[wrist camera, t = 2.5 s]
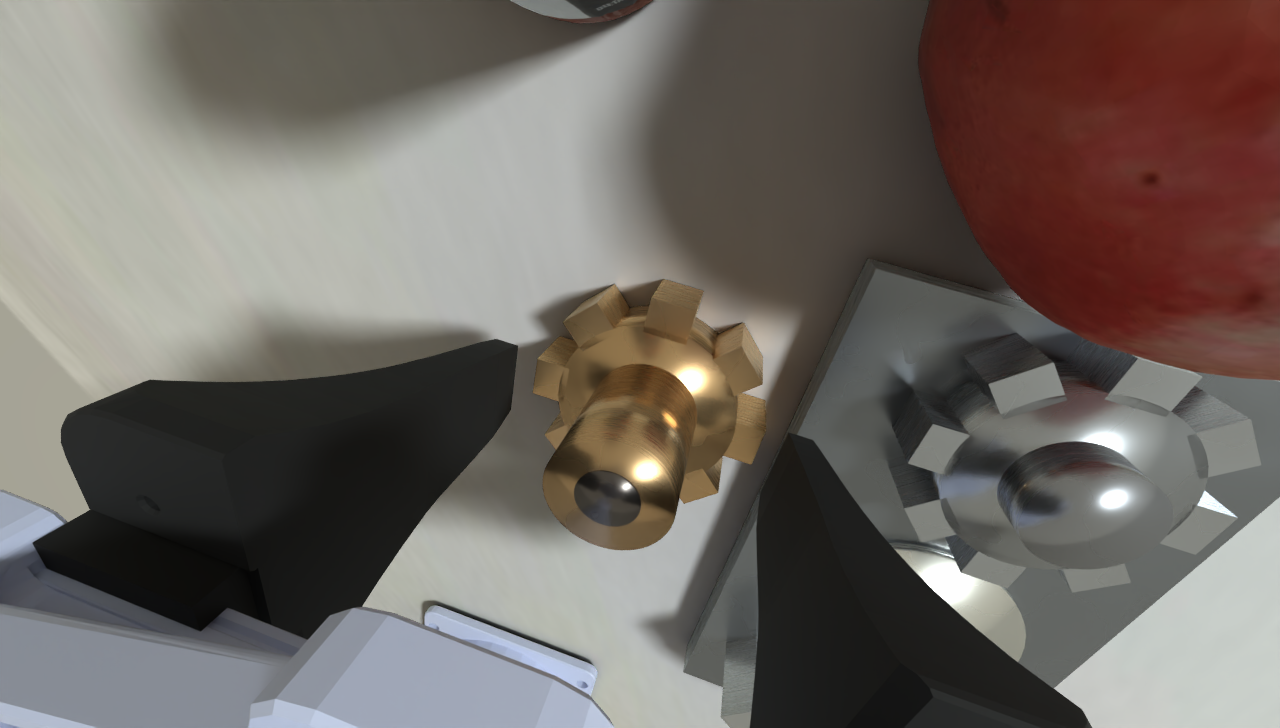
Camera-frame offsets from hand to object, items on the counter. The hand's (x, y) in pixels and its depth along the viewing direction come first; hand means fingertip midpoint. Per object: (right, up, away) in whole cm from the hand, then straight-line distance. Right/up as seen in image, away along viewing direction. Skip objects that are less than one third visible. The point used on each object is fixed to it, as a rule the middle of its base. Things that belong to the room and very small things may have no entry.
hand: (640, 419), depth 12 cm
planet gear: (0, +1, +2) cm, 2 cm away
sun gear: (+9, -1, -1) cm, 9 cm away
